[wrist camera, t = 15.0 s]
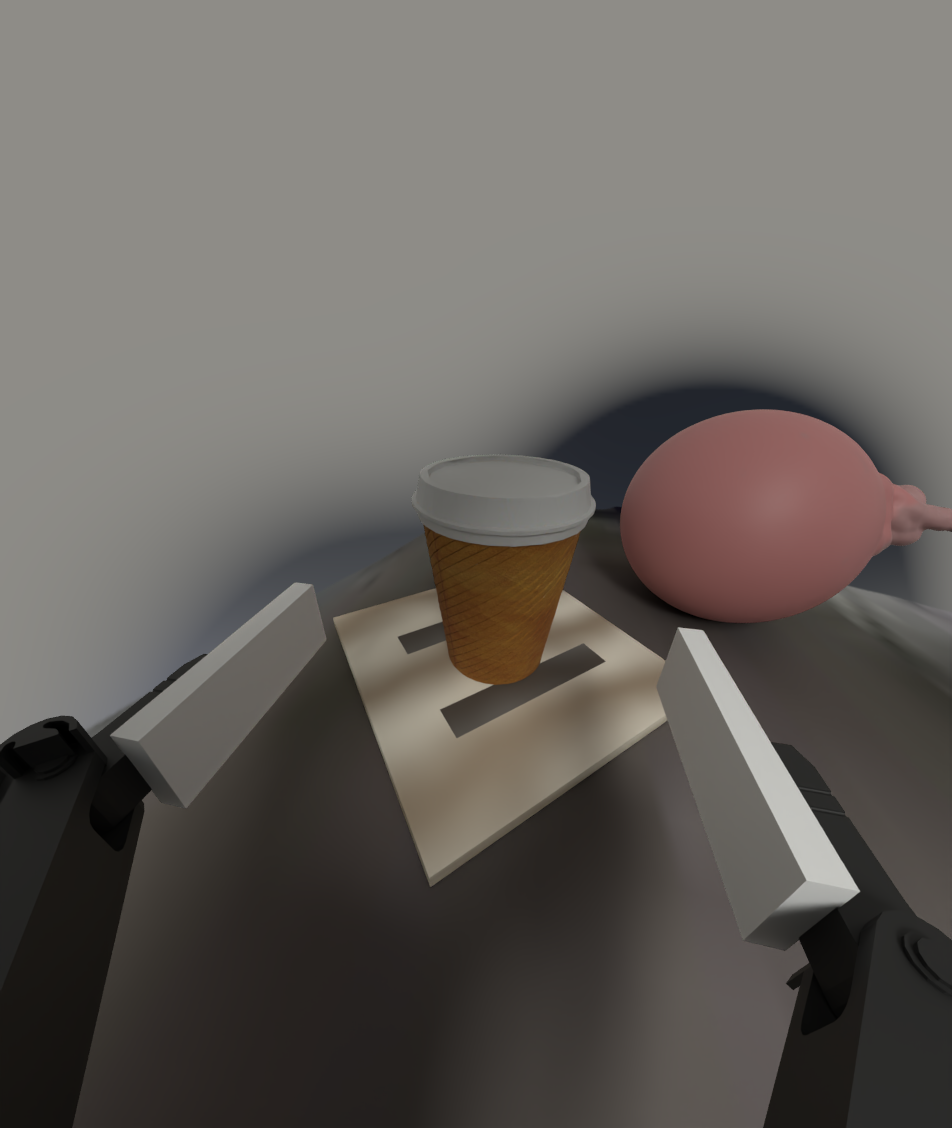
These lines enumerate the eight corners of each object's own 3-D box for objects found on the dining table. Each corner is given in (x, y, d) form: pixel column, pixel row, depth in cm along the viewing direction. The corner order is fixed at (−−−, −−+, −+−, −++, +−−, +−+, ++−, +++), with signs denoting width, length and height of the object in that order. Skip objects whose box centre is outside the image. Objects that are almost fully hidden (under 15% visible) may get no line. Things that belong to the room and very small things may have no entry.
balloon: (958, 731, 20) (1255, 447, 12) (592, 630, 27) (639, 414, 20) (844, 594, 32) (958, 410, 24) (613, 550, 39) (648, 398, 32)
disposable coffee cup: (538, 602, 29) (556, 451, 23) (592, 696, 20) (641, 496, 15) (421, 613, 27) (408, 454, 21) (427, 719, 19) (410, 507, 13)
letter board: (700, 697, 21) (704, 687, 21) (430, 887, 13) (429, 877, 13) (522, 569, 35) (523, 562, 35) (335, 626, 27) (333, 617, 27)
